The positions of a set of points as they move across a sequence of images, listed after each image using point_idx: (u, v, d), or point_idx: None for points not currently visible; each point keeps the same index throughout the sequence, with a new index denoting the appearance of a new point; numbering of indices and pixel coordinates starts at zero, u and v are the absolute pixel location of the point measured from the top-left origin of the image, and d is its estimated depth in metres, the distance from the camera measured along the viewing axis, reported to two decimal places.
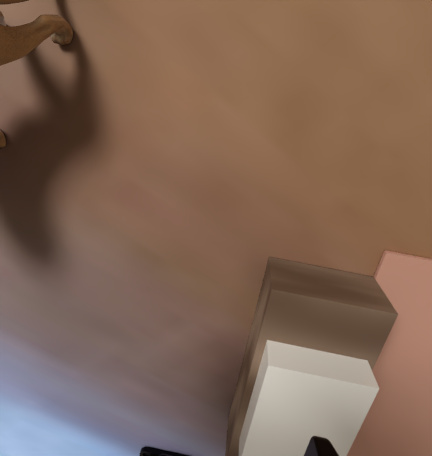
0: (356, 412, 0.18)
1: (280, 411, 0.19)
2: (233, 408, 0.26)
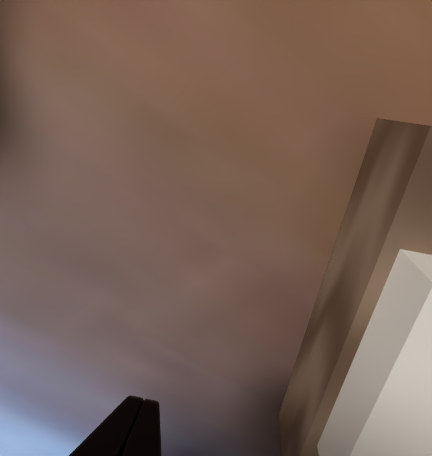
0: None
1: None
2: (294, 396, 0.16)
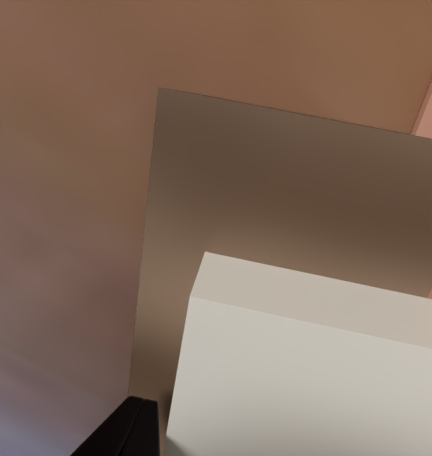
0: None
1: (230, 428, 0.07)
2: None
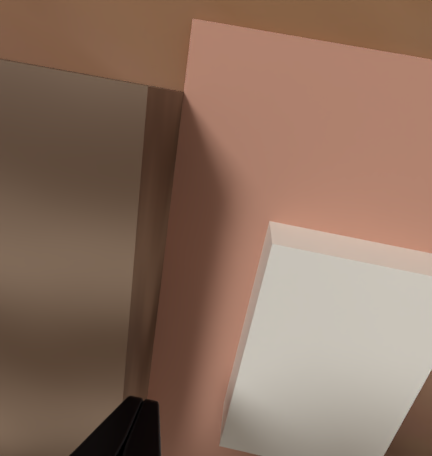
0: None
1: None
2: None
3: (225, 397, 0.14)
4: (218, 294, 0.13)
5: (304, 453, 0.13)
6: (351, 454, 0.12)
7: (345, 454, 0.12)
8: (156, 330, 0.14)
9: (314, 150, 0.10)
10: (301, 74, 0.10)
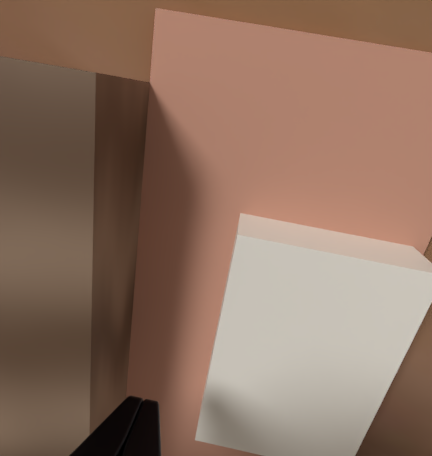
0: None
1: None
2: None
3: None
4: (192, 287, 0.13)
5: (279, 447, 0.12)
6: (326, 448, 0.12)
7: (320, 448, 0.12)
8: (132, 324, 0.14)
9: (282, 141, 0.10)
10: (266, 63, 0.10)
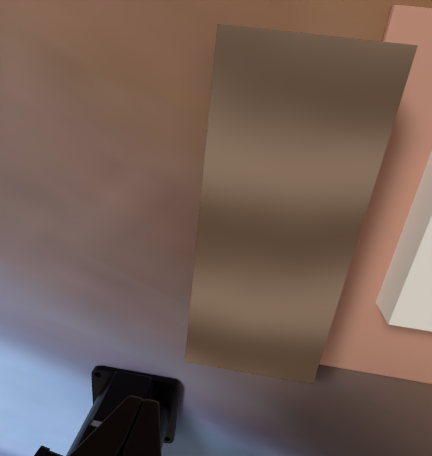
0: None
1: None
2: None
3: (379, 296, 0.19)
4: (384, 211, 0.17)
5: None
6: None
7: None
8: None
9: None
10: None
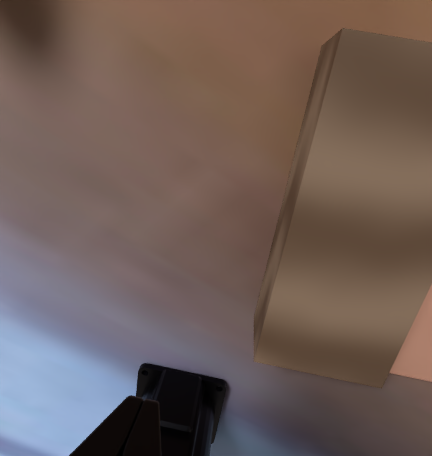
0: None
1: None
2: (264, 289, 0.19)
3: None
4: None
5: None
6: None
7: None
8: None
9: None
10: None
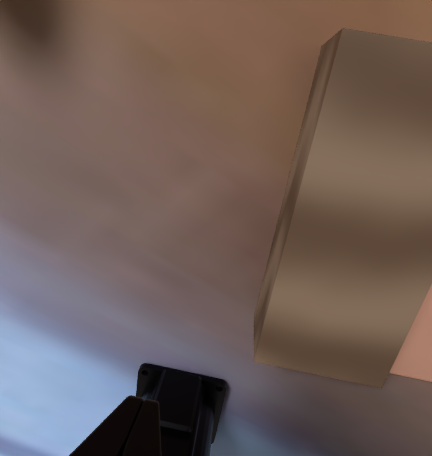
0: None
1: None
2: (264, 289, 0.19)
3: None
4: None
5: None
6: None
7: None
8: None
9: None
10: None
